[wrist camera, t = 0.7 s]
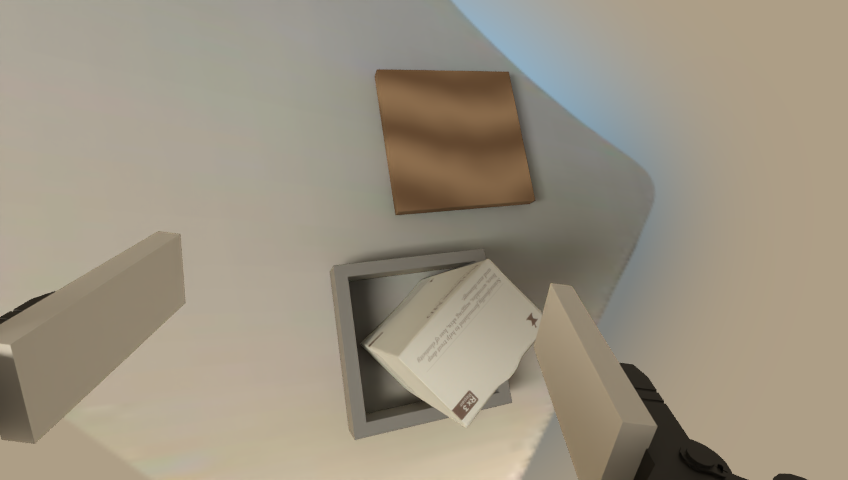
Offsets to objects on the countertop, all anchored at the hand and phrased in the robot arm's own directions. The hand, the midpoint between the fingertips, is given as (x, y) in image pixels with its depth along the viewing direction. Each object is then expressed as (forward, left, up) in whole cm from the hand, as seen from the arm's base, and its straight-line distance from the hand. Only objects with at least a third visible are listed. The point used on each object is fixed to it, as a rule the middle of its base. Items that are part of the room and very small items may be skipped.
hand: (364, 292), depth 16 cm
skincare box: (+3, +8, -23) cm, 24 cm away
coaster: (-15, +15, -23) cm, 31 cm away
